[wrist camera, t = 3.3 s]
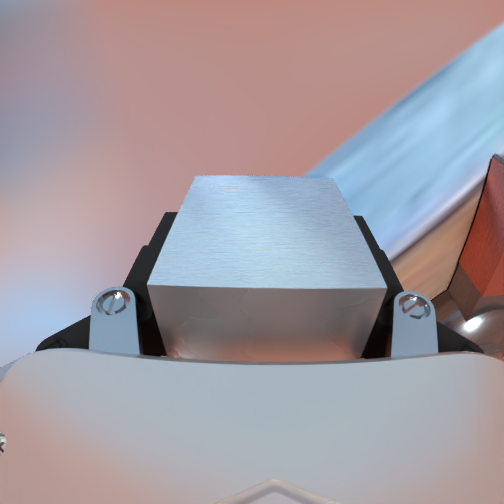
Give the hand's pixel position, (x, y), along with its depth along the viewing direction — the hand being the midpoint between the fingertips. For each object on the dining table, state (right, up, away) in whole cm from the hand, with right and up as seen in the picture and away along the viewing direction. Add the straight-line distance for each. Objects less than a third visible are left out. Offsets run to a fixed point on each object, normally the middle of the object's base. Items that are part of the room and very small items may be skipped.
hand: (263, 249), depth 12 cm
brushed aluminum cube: (0, +1, +1) cm, 1 cm away
